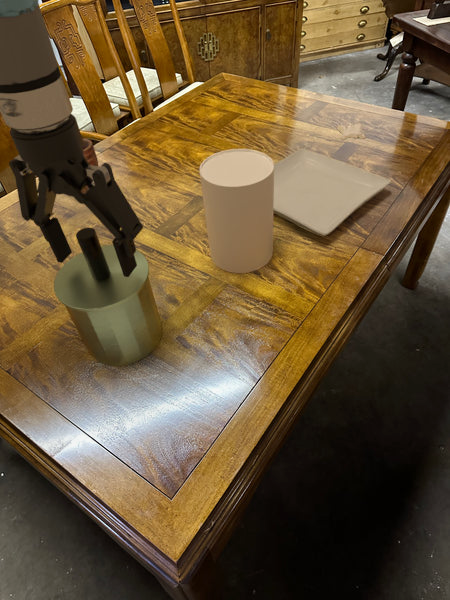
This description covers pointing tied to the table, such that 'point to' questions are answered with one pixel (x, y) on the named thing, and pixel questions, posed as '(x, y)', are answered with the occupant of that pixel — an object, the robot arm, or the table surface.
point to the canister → (239, 208)
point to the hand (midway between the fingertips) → (97, 263)
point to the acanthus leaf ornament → (351, 131)
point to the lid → (97, 276)
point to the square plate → (321, 190)
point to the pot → (121, 329)
